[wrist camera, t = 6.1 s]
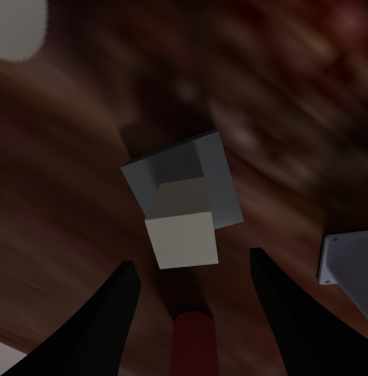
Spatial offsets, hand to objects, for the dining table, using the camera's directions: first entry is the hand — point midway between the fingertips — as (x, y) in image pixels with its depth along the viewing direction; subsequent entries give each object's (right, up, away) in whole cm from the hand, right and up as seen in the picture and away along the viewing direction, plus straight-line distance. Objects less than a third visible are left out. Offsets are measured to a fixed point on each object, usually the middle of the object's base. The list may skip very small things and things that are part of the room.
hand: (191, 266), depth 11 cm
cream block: (0, +4, +6) cm, 7 cm away
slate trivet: (0, +5, +8) cm, 10 cm away
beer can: (+1, -17, +18) cm, 25 cm away
